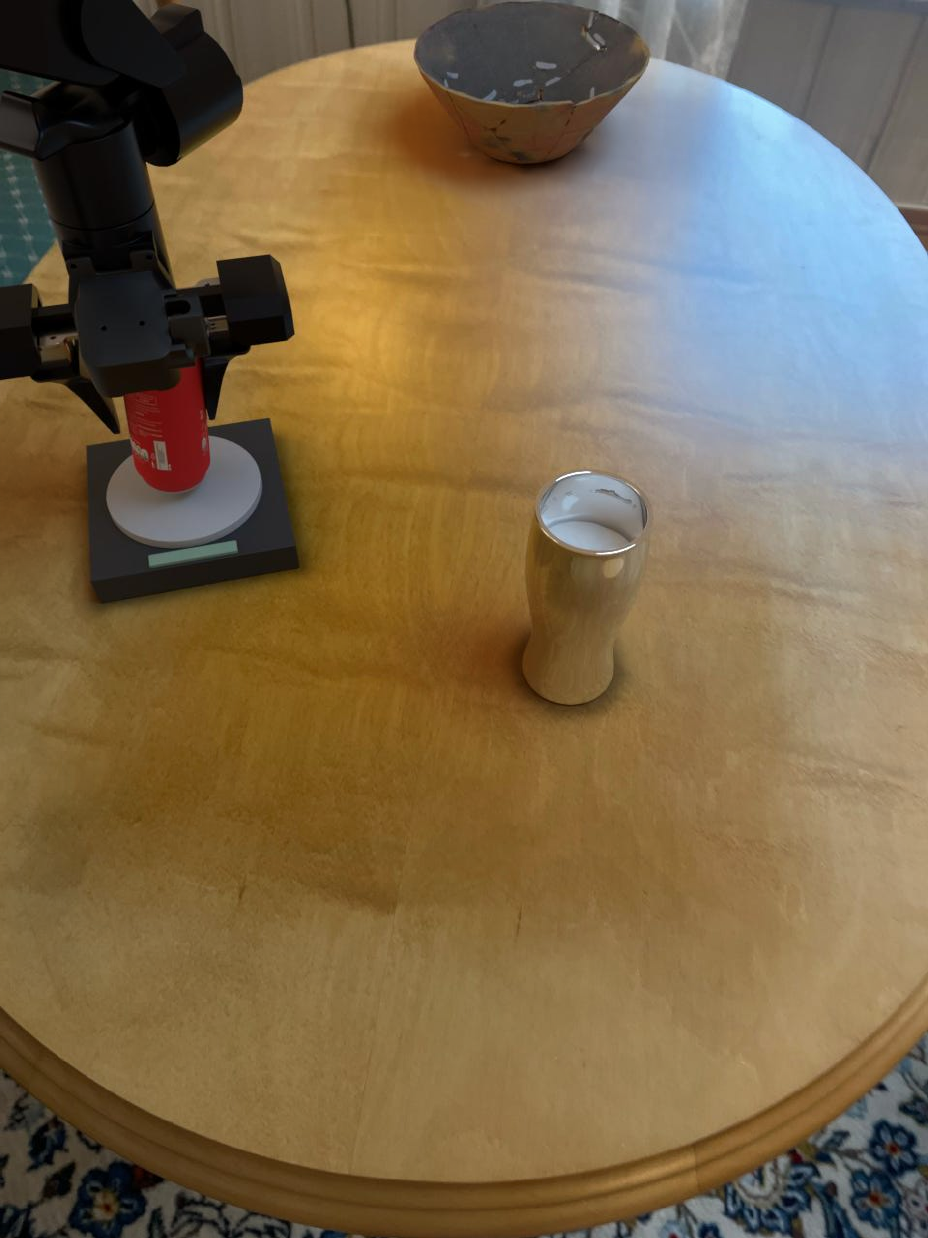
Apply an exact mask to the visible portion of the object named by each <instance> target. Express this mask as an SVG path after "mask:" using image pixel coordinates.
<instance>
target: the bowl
mask: <svg viewBox="0 0 928 1238" xmlns="http://www.w3.org/2000/svg"><path fill="white" fill-rule="evenodd" d="M599 11H600V10H596V9H593V8H588V7H584V6H579V5H574V4H570V3H564V2H553V1H543V0H532V1H504V2H503V1H502V2H495V3H491V4H490V3H489V4H483V5H479V6H478V5H477V6H473V7H469V8H464V9H460V10H455V11H453V12H451V13H450V14H447V15H446V16H445V17H443V18H441V19H439V20H437V21H435V22H434V23H432V24H430V25H429V26H428V27H426V28H425V29H424V30H423V31H421V33H419V35H418V37H417V39H416V41H415V43H414V49H413V60H414V62H415V65H416V66H417V69H418V71H419V74H420V76H421V77H422V79H423V80H424V82H425V83H426V85H427V86H428V88H429V90H431V92H432V93H433V95H434V96H435V97H436V99H437V100H438V102H439V103H440V104H441V107H443V109H444V110H445V111H446V112H447V114H448V116H449V117H450V119H452V121H453V122H454V123H455V125H456V126H458V128H459V129H460V130H461V131H462V132H463V133H464V134H465V135H466V137H468V139H470V140H471V142H472V144H474V145H475V146H476V147H477V148H478V149H479V150H480V151H482V152H483V153H484V154H486V155H487V156H488V157H491V158H493V159H496V160H498V161H501V162H505V163H510V164H511V163H513V164H519V165H522V164H525V165H526V164H541V163H545V162H549V161H553V160H557V159H559V158H562V157H563V156H565V155H566V154H568V153H569V152H571V151H573V149H575V148H576V147H577V146H579V145H580V144H581V143H582V142H584V141H585V140H586V139H587V138H588V137H589V135H590V134H592V132H593V131H594V130H595V128H596V127H597V126H599V125H600V124H601V123H602V122H603V120H604V119H605V118H606V117H607V116H608V115H609V114H610V113H611V112H612V111H613V109H614V108H616V107H617V105H618V104H619V103H620V102H621V101H622V100H623V99H624V98H625V97H626V96H627V95H628V93H629V92H630V91H631V90H632V89H633V87H634V86H635V85H636V84H637V83H638V82H639V81H640V80H641V78H642V77H643V75H644V74H645V72H646V69H647V68H648V65H649V63H650V57H651V53H650V47H649V46H648V45H647V43H646V41H645V40H644V39H643V37H642V36H641V35H640V34H639V33H638V31H636V30H635V29H633V28H632V27H630V25H628V24H627V23H624V22H621V21H620V20H618V19H616V18H614V17H612V16H610V15H608V14H606V13H604V12H599ZM587 34H588V35H589V37H590V38H591V39H592V40H593V41H594V42H595V43H596V44H597V45H598V46H599V49H598V47H597V46H595V45H594V44H593V43H592V42H591V41H590V40H589V39H588V38H587Z"/></svg>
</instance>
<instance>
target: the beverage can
mask: <svg viewBox="0 0 928 1238" xmlns="http://www.w3.org/2000/svg"><path fill="white" fill-rule="evenodd" d="M122 398H123V404H124V411H125V416H126V422H127V429H128V434H129V439H130V441H131V447H132V453H133V459H134V465H135V468H136V470H137V471H138V473H139V474H140V475H141V476H142V477H143V479H144V481H145V482H146V484H147V485H149V486H150V487H151V488H153V489H155V490H157V491H160V492H165V493H181V492H185V491H188V490H191V489H193V488H195V487H196V486H198V485H199V484H200V483H201V482H202V481H203V479H204V477H205V473H206V471H207V469H208V468H209V465H210V448H209V436H208V427H209V426H208V425H209V424H208V414H207V410H206V405H205V393H204V379H203V366H202V357H199V358H197V359H196V367H189V368H181V380H180V382H179V384H178V385H177V386H175V387H174V388H172V389H170V390H166V391H156V390H152V391H145V392H138V393H131V394H125V395H124V396H122Z"/></svg>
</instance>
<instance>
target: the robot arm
mask: <svg viewBox="0 0 928 1238" xmlns="http://www.w3.org/2000/svg"><path fill="white" fill-rule="evenodd" d="M0 69H1V70H5V71H10V72H13V73H17V74H22V75H27V76H31V77H35V78H39V79H43V80H48V81H53V82H52V83H50V84H48V85H46V86H44V87H42V88H41V89H39V90H37V91H36V92H34V93H32V94H30V95H28V94H25V93H20V92H17V91H14V90H10V89H3V90H2V91H1V93H0V151H4V152H7V153H9V154H13V155H17V156H21V157H22V158H23V157H24V158H27V159H29V160H30V162H31V165H32V169H33V171H34V174H35V176H36V177H35V178H36V180H37V183H38V186H39V189H40V192H41V195H42V198H43V201H44V204H45V207H46V210H47V214H48V217H49V220H50V223H51V226H52V228H53V232H54V235H55V238H56V241H57V243H58V246H59V249H60V252H61V256H62V258H63V261H64V264H65V269H66V271H67V274H68V275H67V276H68V284H67V285H68V287H67V303H59V304H53V305H44V303H43V300H42V297H41V295H40V292H39V288H38V287H37V286H36V285H35V284H33V283H32V282H31V283H22V284H14V285H6V286H0V381H6V380H13V379H20V378H27V377H29V378H30V379H31V380H32V381H33V382H35V383H37V384H45V383H52V384H58V385H63V386H64V387H66V388H67V389H68V390H69V391H71V392H72V393H73V394H75V396H77V397H78V398H79V399H80V400H81V401H82V402H83V403H84V404H85V405H86V406H87V407H88V408H89V409H90V411H92V412H93V413H94V415H95V416H96V417H97V418H98V419H99V420H100V422H102V424H104V425H105V426H106V427H107V429H109V431H110V432H111V433H112V434H113V435H115V436H116V435H120V434H121V433H122V432H121V423H120V420H119V415H118V412H117V408H116V404H115V402H114V399H116V398H123V396H124V395H125V394H131V393H138V392H145V391H152V390H156V391H166V390H170V389H172V388H174V387H175V386H177V385H178V384H179V382H180V380H181V368H189V367H196V359H197V358H199V357H202V366H203V379H204V393H205V405H206V413H207V419H208V421H215V420H216V418H217V412H218V407H219V401H220V397H221V391H222V386H223V382H224V377H225V374H226V372H227V370H228V369H227V368H228V366H229V364H230V362H231V361H232V360H233V359H234V358H236V357H240V356H245V355H248V354H249V353H250V351H251V350H252V347H253V346H259V345H260V346H261V345H266V344H274V343H283V342H288V341H289V340H290V339H291V338H293V337H294V336H295V334H296V333H295V327H294V326H295V325H294V319H293V318H294V317H293V311H292V306H291V301H290V296H289V292H288V288H287V284H286V281H285V276H284V272H283V269H282V265H281V262H280V261H278V260H277V259H276V258H275V257H274V256H273V255H272V254H270V253H269V254H260V255H252V256H251V255H250V256H243V257H234V258H227V259H219V260H215V264H216V269H217V270H216V271H217V275H218V276H216V277H208V278H202V279H200V280H198V281H197V282H196V284H194V285H192V286H185V287H179V288H178V287H177V285H176V281H175V278H174V273H173V268H172V265H171V264H172V263H171V261H170V257H169V256H170V255H169V252H168V249H167V244H166V240H165V235H164V232H163V228H162V224H161V219H160V214H159V211H158V207H157V206H158V205H157V203H156V199H155V195H154V190H153V186H152V182H151V178H150V173H149V169H148V165H150V166H154V167H158V168H168V167H171V166H174V165H176V164H178V163H179V162H181V161H182V160H183V159H185V158H187V156H189V155H190V154H192V153H193V152H195V151H196V150H197V149H199V148H200V147H202V146H203V145H205V144H206V143H208V142H209V141H210V140H212V139H213V138H215V137H216V136H218V135H219V134H220V133H222V132H223V131H225V130H226V129H227V128H229V127H230V126H232V125H233V124H234V123H235V122H236V121H238V119H239V117H240V115H241V113H242V110H243V105H244V88H243V87H244V86H243V83H242V78H241V76H240V75H239V74H237V71H236V69H235V67H234V64H233V63H232V61H231V59H230V58H229V56H228V54H227V52H226V51H225V49H223V48H222V46H221V45H220V44H219V42H218V41H217V40H215V38H213V37H212V36H211V35H210V34H209V33H207V32H206V31H205V27H204V21H203V16H202V11H200V9H198V8H196V7H191V6H187V5H184V4H179V3H175V2H169V3H167V4H165V5H164V6H161V7H160V8H158V9H157V10H156V11H155V13H154V14H153V15H151V17H149V18H148V17H147V15H146V14H145V13H144V11H142V10H141V9H140V7H139V6H138V4H137V3H135V1H134V0H0ZM147 164H148V165H147ZM43 305H44V306H43Z"/></svg>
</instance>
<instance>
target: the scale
mask: <svg viewBox="0 0 928 1238" xmlns="http://www.w3.org/2000/svg"><path fill="white" fill-rule="evenodd" d="M208 436H209V448H210V465H209V468H208V469H207V471H206V473H205V477H204V479H203V481H202V482H201V483H200V484H199V485H198V486H196V487H195V488H193V489H191V490H188V491H185V492H181V493H165V492H160V491H157V490H155V489H153V488H151V487H150V486H149V485H147V484H146V482H145V481H144V479H143V477H142V476H141V475H140V474H139V473H138V471H137V470H136V468H135V465H134V459H133V453H132V447H131V441H130V438H128V439H120V440H113V441H107V442H100V443H94V444H88V445H87V444H86V446H85V451H86V452H85V453H86V481H87V482H86V485H87V517H88V518H87V519H88V520H87V522H88V549H89V550H88V552H89V553H88V556H89V581H90V582H89V583H90V584H91V587H92V588H93V591H94V594H95V596H96V598H97V600H98V602H99V604H103V603H109V602H116V601H120V600H125V599H132V598H138V597H143V596H148V595H154V594H159V593H164V592H171V591H175V590H176V591H177V590H181V589H187V588H192V587H197V586H204V585H209V584H215V583H220V582H227V581H231V580H236V579H237V580H238V579H242V578H248V577H254V576H258V575H264V574H271V573H276V572H281V571H288V570H293V569H298V568H300V561H299V555H298V550H297V549H298V548H297V544H296V540H295V535H294V529H293V525H292V520H291V515H290V511H289V505H288V500H287V495H286V490H285V486H284V480H283V476H282V471H281V466H280V461H279V456H278V451H277V446H276V441H275V436H274V432H273V426H272V422H271V417H262V418H258V419H257V418H256V419H250V420H243V421H237V422H231V423H224V424H217V425H210V426H208Z"/></svg>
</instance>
